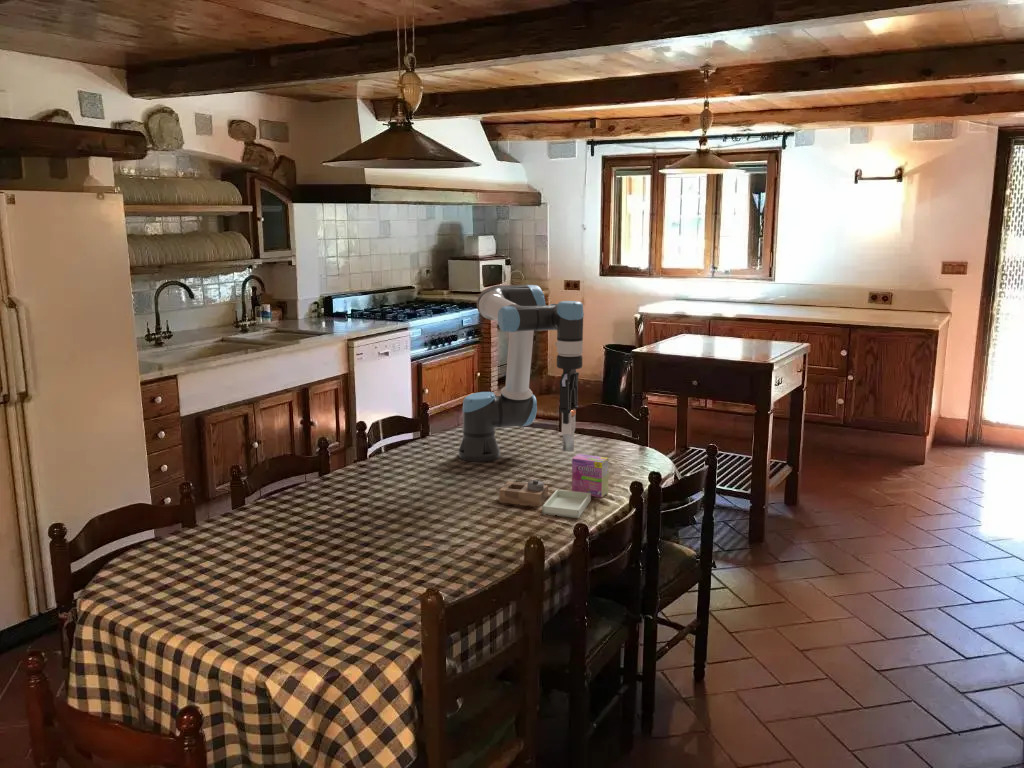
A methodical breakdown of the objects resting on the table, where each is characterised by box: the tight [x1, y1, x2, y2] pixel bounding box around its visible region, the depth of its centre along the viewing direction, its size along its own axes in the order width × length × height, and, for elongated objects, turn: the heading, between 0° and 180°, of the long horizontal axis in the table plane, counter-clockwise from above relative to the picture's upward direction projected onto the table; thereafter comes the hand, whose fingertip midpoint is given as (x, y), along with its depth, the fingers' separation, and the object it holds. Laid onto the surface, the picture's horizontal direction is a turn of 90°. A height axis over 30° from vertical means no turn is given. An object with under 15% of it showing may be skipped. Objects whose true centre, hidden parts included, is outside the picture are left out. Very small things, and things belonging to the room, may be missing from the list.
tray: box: [541, 489, 592, 519], centre depth 249 cm, size 16×11×2 cm
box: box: [571, 453, 610, 498], centre depth 261 cm, size 10×6×12 cm, turn 62°
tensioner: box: [498, 479, 549, 508], centre depth 255 cm, size 9×13×7 cm
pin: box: [561, 408, 577, 452], centre depth 244 cm, size 4×4×12 cm
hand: (568, 431), depth 244 cm, fingers closed on pin, 4 cm apart
